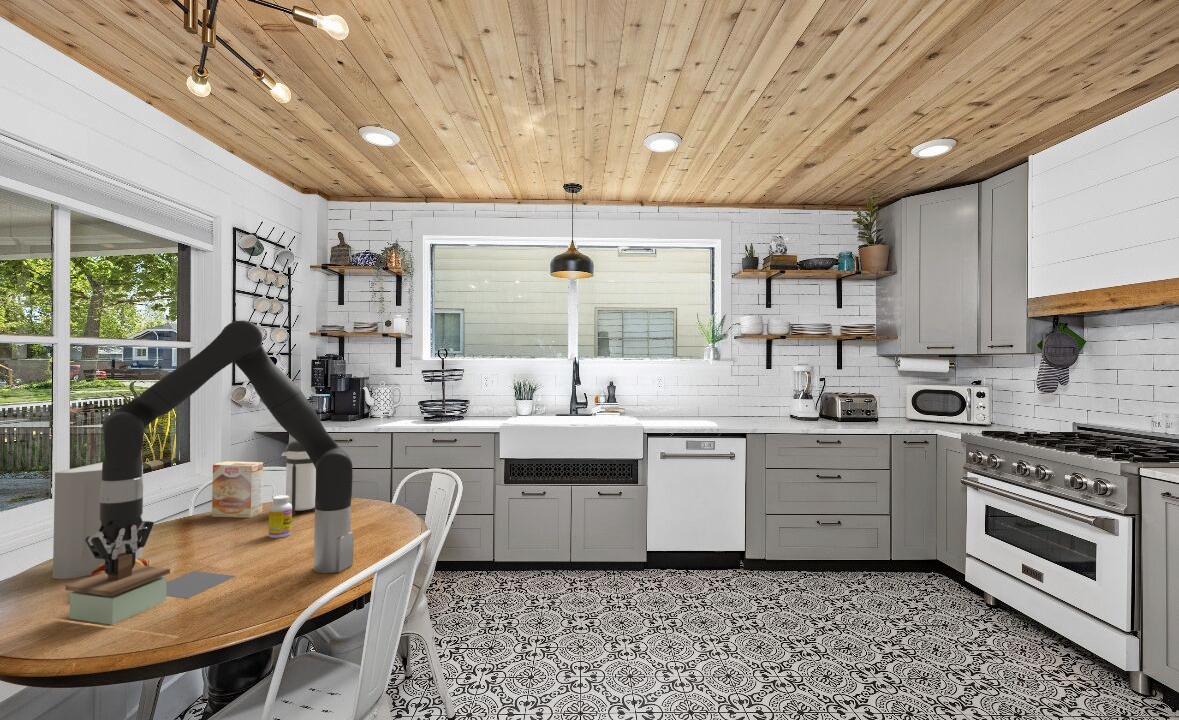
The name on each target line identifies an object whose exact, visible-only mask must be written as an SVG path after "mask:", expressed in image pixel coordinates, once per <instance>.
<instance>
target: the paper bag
mask: <svg viewBox="0 0 1179 720" xmlns="http://www.w3.org/2000/svg"><path fill="white" fill-rule="evenodd" d="M102 464H103V461H102V462H97V463H92V464H87V465H83V466H78V467H74V468H69V469H64V470H60V471H59V470H58V471H55V472H54V493H53V494H54V500H53V501H54V503H53V504H54V505H53V508H54V509H53V545H52V546H53V547H52V548H53V549H52V551H53V553H52V554H53V558H52V559H53V560H52V561H53V563H52V579H53V580H54V579H58V580H59V579H61V580H62V579H63V580H64V579H67V580H68V579H75V578H79V577H80V578H81V577H84V576H85V575H86V576H90V574H91V573H92V572H93V570H94V569H96V568H97V567H99V565H101V564H103V563H105V560H104V559H96V558H95V557H94V555H93V554H92V552H91V550H90V548H89V546H88V545H87V543H86V541H85V539H86V538H87V537H88V536H91V537H92V536H94V535H95V534H97V533H98V532H99V529H100V527H101V521H100V489H101V484H102ZM143 470H144V465H143V464H142V482H143V479H144V471H143ZM141 518H142V519H143V514H142V515H141ZM137 531H138V530H137ZM141 538H142V537H141ZM102 539H103V540H104V541H105V538H104V537H103V538H102ZM104 541H103V542H102V543H103V545H104ZM140 541H141V540H140ZM112 544H114V543H112ZM120 553H126V552H125V551H124V546H123V543H122V544H121V547H120V548H119V550H118V554H120ZM138 558H142V547H140V548H139V549H138V550H137V551H136V559H138Z"/></svg>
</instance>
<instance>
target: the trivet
mask: <svg viewBox="0 0 1179 720" xmlns="http://www.w3.org/2000/svg"><path fill="white" fill-rule="evenodd" d="M235 577H237V575H232V574H231V575H229V574H222V573H213V572H205V571H198V570H197V571H196V570H192V571H190V572H187V573H186V574H183V575H180V576H178V577H176V578H172V579H170V580H169V581H166V597H172V598H178V599H179V598H180V599H188V600H189V599H190V598H192V597H194V596H196V595H199V594H201V593H203V592H205V591H207V590H209V589H212V588H214V587H216V586H218V585H220V584H223V583H225V582H227V581H229V580H232V579H234V578H235Z"/></svg>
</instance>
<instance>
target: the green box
mask: <svg viewBox="0 0 1179 720" xmlns="http://www.w3.org/2000/svg"><path fill="white" fill-rule="evenodd" d="M166 582H167V576H162V577H159V578H157V579H154V580H152V581H149V582H147V583H144V584H142V585H139V586H137V587H134V588H132V589H129V590H127V591H124V592H122V593H119V594H117V595H114V596H105V595H98V594H90V593H82V592H75V591H71V592H70V593H69V620H72V621H75V620H76V621H77V620H79V622H81V623H82V621H83V622H86V623H88V624H89V622H90V623H93V624H96V623H97V624H100V625H102V626H103V624H104V625H106V624H107V626H109V627H110V625H115V624H117V623H119V622H121V621H123V620H126V619H127V618H130V617H133V616H134V615H137V614H139V613H141V612H144V611H146V610H149V609H150V608H152V607H153V608H154V606H155V607H156V606H157V605H160V604H161V603H164V602H166V601H167V596H166Z"/></svg>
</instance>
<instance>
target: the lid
mask: <svg viewBox="0 0 1179 720" xmlns="http://www.w3.org/2000/svg"><path fill="white" fill-rule="evenodd" d="M169 574H171V569H170V568H163V567H153V566H150V567H147V566H138V565H134V568H133V569H132V554H128V553H120V554H118V555H117V574H116V575H113V576H112V575H107V573H105V572H103V573H100V574H98V575H95V576H92V577H90V576H89V577H87V578H83V579H80V580H78V581H75V582H72V583H69V584H65V586H64V587H65V589H64V590H65V591H69V592H74V591H75V592H82V593H90V594H98V595H105V596H114V595H117V594H119V593H122V592H124V591H127V590H129V589H132V588H134V587H137V586H139V585H142V584H144V583H147V582H149V581H152V580H154V579H157V578H159V577H165V576H166V575H169Z"/></svg>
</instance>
